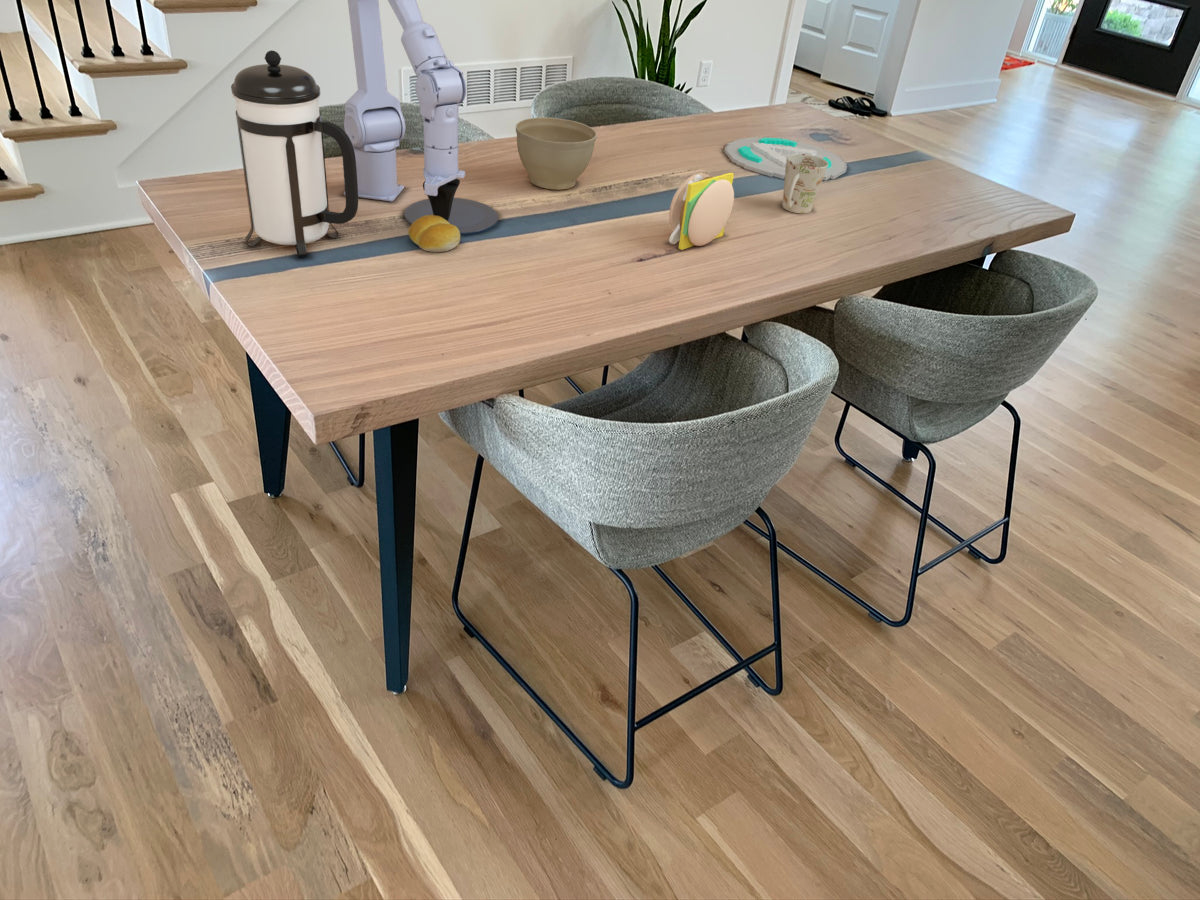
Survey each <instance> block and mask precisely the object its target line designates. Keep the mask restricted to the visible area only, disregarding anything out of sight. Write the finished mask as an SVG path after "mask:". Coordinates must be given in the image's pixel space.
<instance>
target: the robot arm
mask: <svg viewBox="0 0 1200 900" xmlns="http://www.w3.org/2000/svg"><path fill="white" fill-rule="evenodd" d="M387 2H388V3H389V5H390V8H391V9H392V11H393V13H394V15H395V17H396V18H397V20H398V22H399V24H400V26H401V28H402V29H403V30H402V34H401V36H400V42H401V45H402V46H403V49H404V52H405V53H406V57H407V58H408V60H409V63H410V65H411V68H412V69H413V72H414V75H415V77H416V83H415V84H414V89H415V94H416V97H417V100H418V104H419V113H420V116H421V117H423V163H424V164H423V165H424V166H423V169H422V170H423V171H422V172H423V173H422V174H423V178H424V181H423V182H422V190H423V191H424V195H426V196H427V199H429V200H430V203H431V207H432V211H433V215H436V216H440V217H442V218H444V219H445V220H447V221H448V220H449V217H450V212H451V207H452V202H453V198H455V196H456V192H457V189H458V187H459V186H460V184H461V180H460V179H464V178H465V176H466V171H465V170H461V169H460V168H459V105H460V104H462V103H463V102H464V101H465V99H466V95H467V85H466V80H465V77H464V74H463V72H462V70H461V69H460V68H459V67H458V66H456V65H455V64H454V63H453V61H452V60H448V57H447V55H446V52H445V50H444V49H443V46H442V43H441V41H440V39H439V37H438V35H437V32H436V30H435V27H434V26H433V25H432V24H430V23H428V22H425V21H424V19H423V16H422V14H421V10H420V8H419V4H418V2H417V0H387ZM347 5H348V15H349V24H350V31H351V40H352V50H353V51H352V52H353V59H354V68H355V75H356V84H357V85H356V86H357V90H356V92H354V93H353V94H352V96H350V97H349V98H348V99H347V100H346V101H345V102H344V121H343V128H344V131H345V133H346V134H347V135H348V137H349V138H350V140H351V142H352V145H353V148H354V152H355V159H356V169H357V184H358V198H362V199H369V200H377V201H385V202H394V201H395V200H396V198H397V197H398V196H399V195H400V194H401V193H402V192H403V190H404V189H405V185H403V184H398V165H397V163H398V162H397V148H398V147H400V142H401V141H402V140H403V139H404V137H405V135H406V131H407V129H406V128H407V127H406V126H407V125H406V120H405V117H404V115H403V112H402V106H401V101H400V100H399V99H398V98H397V97H396V96H395V95H393V94H392V93H391V92H389V91H388V84H387V83H388V82H387V74H386V63H385V62H386V61H385V52H384V43H383V34H382V23H381V22H382V21H381V11H380V2H379V0H347ZM342 169H343V168H342ZM343 172H344V169H343ZM343 185H345V182H344V184H343ZM343 195H344V196H345V191H343Z"/></svg>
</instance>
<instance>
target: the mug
mask: <svg viewBox="0 0 1200 900" xmlns="http://www.w3.org/2000/svg"><path fill="white" fill-rule="evenodd" d="M827 167H828V162H827V161H826V160H824V159H822V158H820V157H817V156H813V155H808V154H791V155H789V156H788V157H787V160H786V170H785V178H784V183H783V184H784V185H783V194H782V203H781V204H782V205H781V206H782V208H783V209H784V210H786V211H788V212H791V213H795V214H809V213H811V211H812V209H813V207H814V204H815V202H816V199H817V196H818V194H819V192H820V189H821V186H822V183H823V181H824V180H823V178H824V175H825V173H826V170H827Z"/></svg>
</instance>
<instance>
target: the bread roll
mask: <svg viewBox="0 0 1200 900" xmlns="http://www.w3.org/2000/svg"><path fill="white" fill-rule="evenodd" d="M407 234H408V237H409V238H410V241H412V242H413V244H415V245H417V246H418V247H419V248H420V249H421V250H423V251H425V252H428V253H429V252H430V253H432V252H434V253H443V252H448V251H451V250H453V249H455V248H456V247H458V246H459V244H460V242H461V236H460V231H459V229H458V228H457V227H456V226H454V225H452V224H450V223H449V222H448V221H447V220H445V219H444V218H442V217H440V216H436V215H426V216H422V217H420V218H419V219H417V220H416V221H414V222H413V223H412V224H411V225H410V226H409V227H408V232H407Z"/></svg>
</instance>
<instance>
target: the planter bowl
mask: <svg viewBox="0 0 1200 900" xmlns="http://www.w3.org/2000/svg"><path fill="white" fill-rule="evenodd" d="M515 132H516V133H515V134H516V146H517V152H518V155H519V158H520V161H521V164H522V166H523V168H524V169H525V171H526V173H527V174H528V179H529V182H530V183H531V184H532V185H534V186H537V187H539V188H542V189H547V190H555V191H558V190H559V191H560V190H561V191H562V190H567V189H568V190H569V189H571V188H573V187H574V186H575V185H576V183H577V180H578V178H580V176H581V175H582V174H583V173H584V171H585V170H586V168H587V167H588V165H589V163H590V162H591V159H592V157H593V153H594V150H595V149H594V148H595V143H596V140H597V137H598V134H597V131H596V130H595V129H594V128H593V127H591V126H589V125H587V124H585V123H582V122H579V121H574V120H570V119H564V118H558V117H531V118H526V119H522V120H520V121H518V122H517V123H516V124H515Z"/></svg>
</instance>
